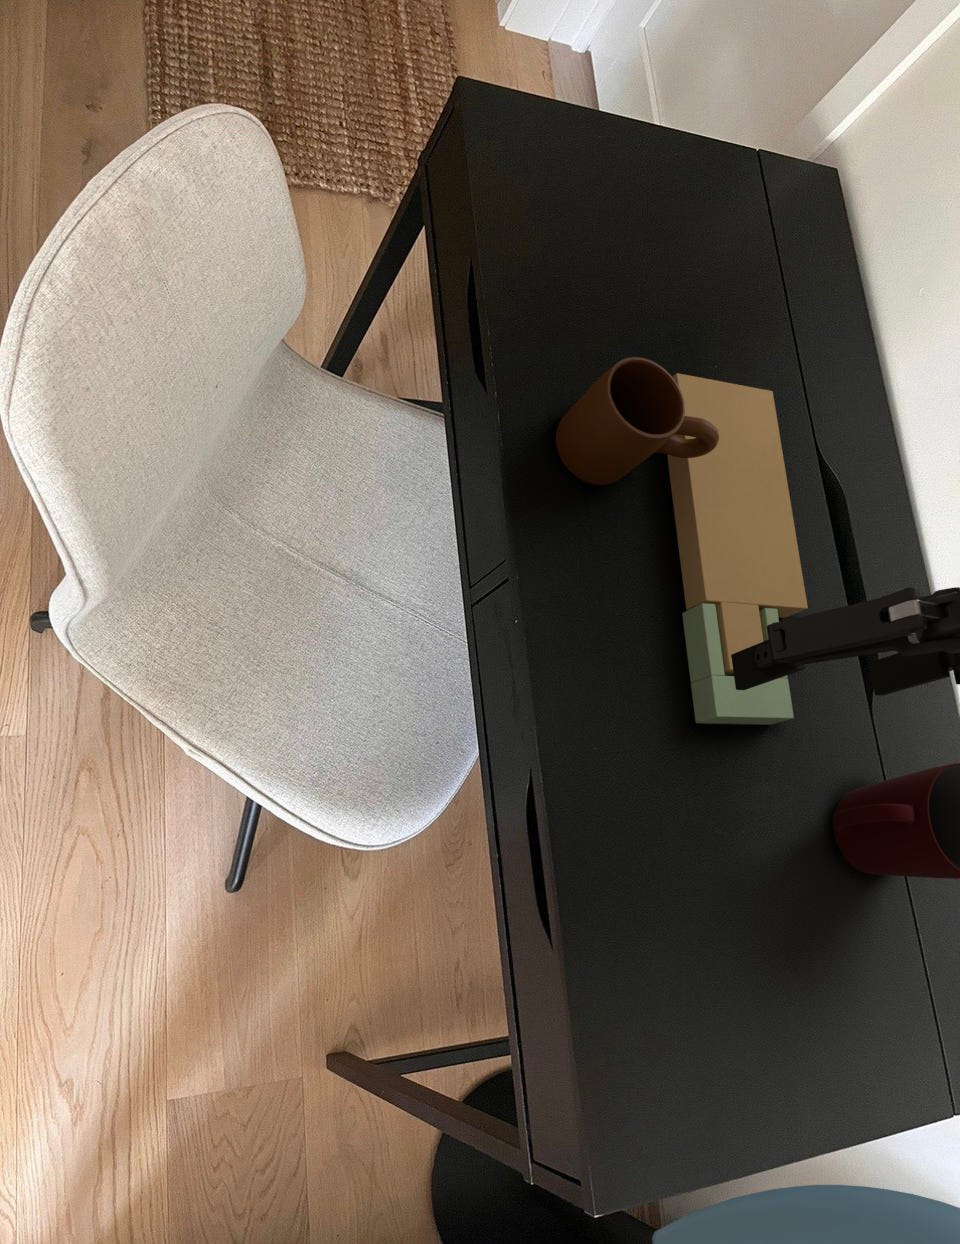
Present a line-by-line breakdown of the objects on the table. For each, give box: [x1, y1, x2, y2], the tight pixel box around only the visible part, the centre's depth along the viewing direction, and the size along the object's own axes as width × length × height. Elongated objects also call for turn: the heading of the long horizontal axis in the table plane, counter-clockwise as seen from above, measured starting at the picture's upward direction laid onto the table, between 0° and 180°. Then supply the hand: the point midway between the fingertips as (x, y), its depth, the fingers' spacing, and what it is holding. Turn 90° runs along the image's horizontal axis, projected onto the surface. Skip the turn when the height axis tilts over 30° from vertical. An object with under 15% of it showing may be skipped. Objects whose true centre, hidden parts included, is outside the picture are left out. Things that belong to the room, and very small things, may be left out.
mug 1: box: [555, 356, 719, 486], centre depth 79 cm, size 12×8×9 cm, turn 78°
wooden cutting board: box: [666, 372, 808, 676], centre depth 84 cm, size 11×28×3 cm, turn 3°
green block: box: [681, 603, 795, 726], centre depth 80 cm, size 10×8×3 cm
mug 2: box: [832, 762, 960, 880], centre depth 77 cm, size 12×9×11 cm
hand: (808, 676), depth 71 cm, fingers open, 13 cm apart
